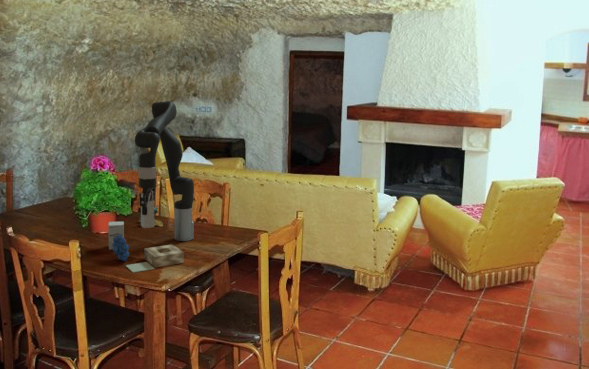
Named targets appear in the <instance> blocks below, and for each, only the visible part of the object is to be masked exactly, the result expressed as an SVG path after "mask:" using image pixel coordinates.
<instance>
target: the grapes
mask: <svg viewBox="0 0 589 369" xmlns="http://www.w3.org/2000/svg"><path fill="white" fill-rule="evenodd" d="M113 241H114V242H113V244H112V246H113V249H112V251H113V253H114V254H115V256H117V259H118V260H120V261H123V262H127V260H128V257H129V256H130V252H129V249H130V246H129V245H128V244H126V243H127V240H126V238H125V237H124V238H122V236H121V235H117V237H116V236H115V237H114V238H113Z"/></svg>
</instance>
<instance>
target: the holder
mask: <svg viewBox="0 0 589 369" xmlns="http://www.w3.org/2000/svg"><path fill="white" fill-rule="evenodd" d="M143 251H144V253H143V254H144V256H143V258H144V260H145V261H146V262H148V263H149V264H150V265H151V266H153V267H154V268H159V267H160V268H161V267H165V266H167V267H168V266H172V265H178V264H183V263H185V252H184V251H183V250H181V248H178V247H177V246H175V245H174V244H166V245H160V246H151V247H146V248H145V247H144V248H143Z"/></svg>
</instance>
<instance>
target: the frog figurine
mask: <svg viewBox="0 0 589 369" xmlns="http://www.w3.org/2000/svg"><path fill="white" fill-rule="evenodd" d="M158 209H159V206H158V205H156V206H155V205H154V227H155V226H156V227H157V226H158V227H163V226H164V225H163V224H164V223H163V222H162V220H157V219H156V218H155V216H156V214H159V215H160V216H161V215H162V213H161V211H160V212H159V211H158ZM138 223H139V224H141V217H140V218H139V220H138Z"/></svg>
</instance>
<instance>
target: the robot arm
mask: <svg viewBox="0 0 589 369" xmlns="http://www.w3.org/2000/svg"><path fill="white" fill-rule="evenodd" d="M151 114H152V117H153V118H152V119H151V120H150V121H148V123H147V125H146V127H143V128H142V129H140V130H138V131H137V133H135V136H134V144H135V145H136V146H137V147H138V148H140V149H141V148H143V149H150V150H149V151H148V152H144V153H140V154H139V157H138V187H139V188H140V189H142V191H141V192H140V193H139V194H138V195H139V198H138V199H139V207H140V208H141V207H142V215H147V205H148V202H149V200H153V201H154V202H155V201H156V200H155V199H156V197H155V196H156V187H157V169H156V157H157V152H158V148H159V145H160V144H161V148H162V152H163V155H164V158H165V163H166V167H167V173H168V178H169V185H170V186H169V187H170V189H171V191H172V193H173V194H176V195H181V199H180V200H176V201H175V202H174V206H173V208H174V212H173V213H174V216H173V217H174V240H175V241H177V242H188V241H191V240H194V237H195V235H194V234H195V229H194V228H195V222H194V221H193V204H194V198H195V197H194V196H195V195H194V194H195V183H194V179H192V178H190V177H184V176H182V175H181V173H180V170H179V169H180V164H181V161H182V160H183V154H184V153H183V150H182V149H183V148H182V145H181V141H180V140H179V139H178V138H177V136H176V135H175V134H174V133H173V132H172V131H171V130H170V129H169V128H168V125H169V124H170V123H171V122H172V121H174V120H175V118H176V117H177V106H176V103H174V102H173V101H172V100H171V101H170V100H167V101H157V102H153V103H152V105H151ZM143 203H144V204H143Z"/></svg>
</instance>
